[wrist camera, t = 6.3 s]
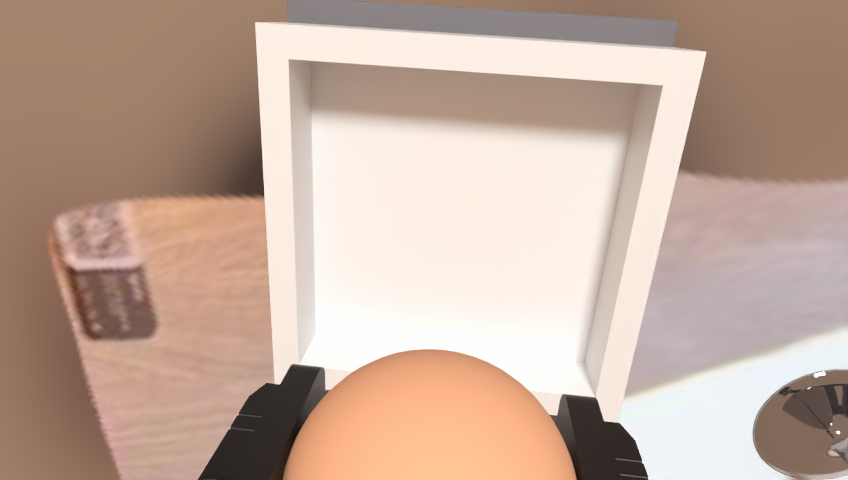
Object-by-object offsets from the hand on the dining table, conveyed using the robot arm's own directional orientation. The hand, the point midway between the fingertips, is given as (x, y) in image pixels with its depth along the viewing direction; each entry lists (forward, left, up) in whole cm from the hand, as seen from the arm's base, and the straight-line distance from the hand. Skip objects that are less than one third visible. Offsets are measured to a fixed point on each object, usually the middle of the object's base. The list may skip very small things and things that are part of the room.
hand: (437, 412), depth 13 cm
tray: (0, 0, -14) cm, 14 cm away
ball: (0, 0, +2) cm, 2 cm away
